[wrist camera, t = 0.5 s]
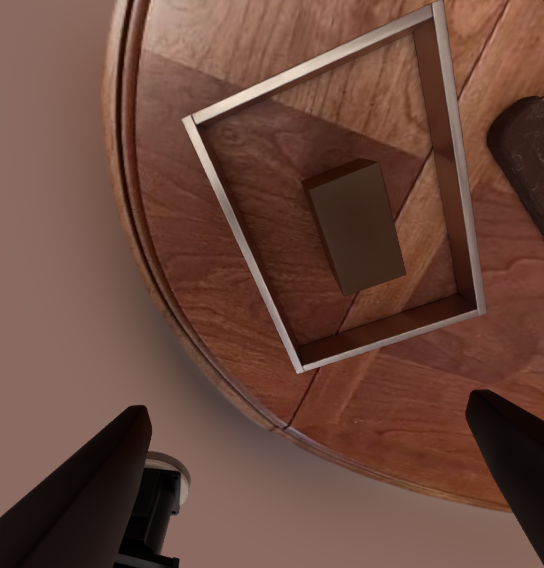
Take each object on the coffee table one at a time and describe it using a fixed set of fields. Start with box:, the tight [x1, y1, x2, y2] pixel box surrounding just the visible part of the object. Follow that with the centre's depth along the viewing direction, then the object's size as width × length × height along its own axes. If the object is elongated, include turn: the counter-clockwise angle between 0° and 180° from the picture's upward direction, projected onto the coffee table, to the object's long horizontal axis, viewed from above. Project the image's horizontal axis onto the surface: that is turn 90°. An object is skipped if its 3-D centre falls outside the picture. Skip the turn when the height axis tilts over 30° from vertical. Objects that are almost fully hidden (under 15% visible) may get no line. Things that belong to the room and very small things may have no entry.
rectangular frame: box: [181, 0, 487, 374], centre depth 21 cm, size 19×14×2 cm
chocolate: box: [301, 158, 406, 296], centre depth 20 cm, size 7×4×4 cm, turn 22°
